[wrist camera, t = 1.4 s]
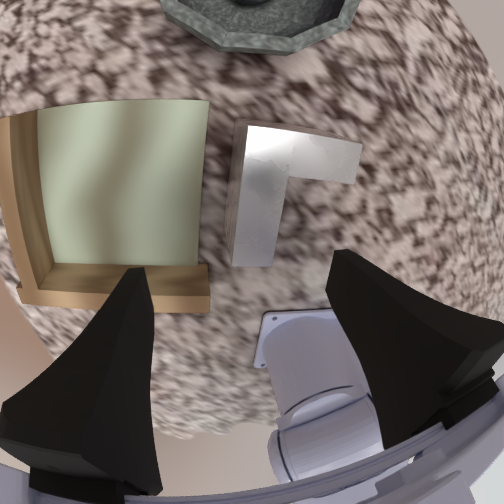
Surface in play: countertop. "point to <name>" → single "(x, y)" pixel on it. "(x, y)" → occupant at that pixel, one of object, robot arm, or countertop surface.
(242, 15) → the mortar and pestle
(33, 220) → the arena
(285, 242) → the countertop surface
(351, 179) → the bracket
